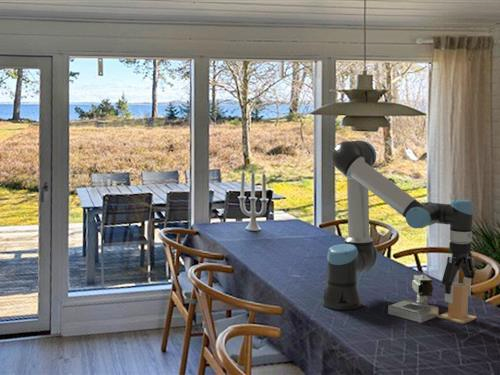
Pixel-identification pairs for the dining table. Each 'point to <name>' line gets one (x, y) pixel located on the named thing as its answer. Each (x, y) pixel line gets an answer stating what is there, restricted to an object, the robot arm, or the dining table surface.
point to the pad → (462, 321)
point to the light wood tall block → (459, 301)
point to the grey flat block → (413, 310)
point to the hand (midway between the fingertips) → (457, 298)
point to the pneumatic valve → (422, 287)
